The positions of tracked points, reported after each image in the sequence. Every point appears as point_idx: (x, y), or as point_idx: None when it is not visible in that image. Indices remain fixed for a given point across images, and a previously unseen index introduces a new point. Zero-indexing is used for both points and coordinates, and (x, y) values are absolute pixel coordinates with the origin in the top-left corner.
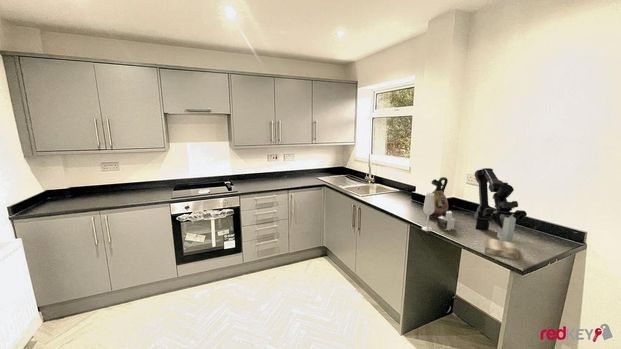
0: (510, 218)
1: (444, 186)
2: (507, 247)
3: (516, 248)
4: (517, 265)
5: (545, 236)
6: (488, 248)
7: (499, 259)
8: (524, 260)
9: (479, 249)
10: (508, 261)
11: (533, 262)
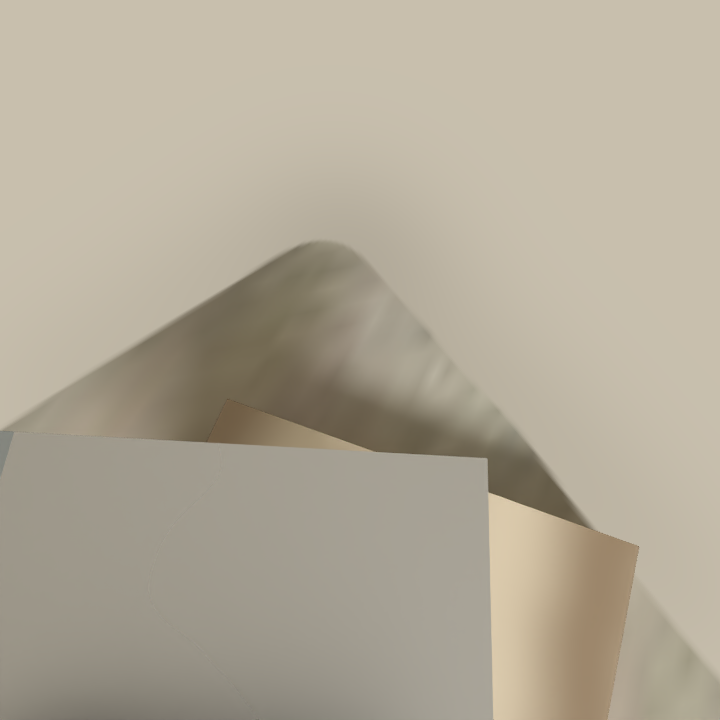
0: (28, 437)
1: None
2: None
3: None
4: (330, 283)
5: None
6: (588, 531)
7: (471, 384)
8: (172, 419)
9: (655, 659)
10: (385, 355)
11: (96, 388)
